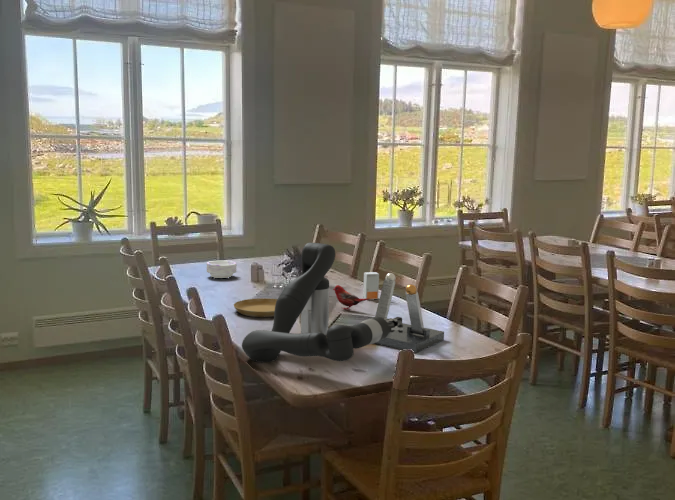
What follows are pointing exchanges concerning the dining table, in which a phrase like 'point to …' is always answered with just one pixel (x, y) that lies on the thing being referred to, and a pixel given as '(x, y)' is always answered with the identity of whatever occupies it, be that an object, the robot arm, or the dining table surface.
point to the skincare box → (370, 285)
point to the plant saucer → (256, 307)
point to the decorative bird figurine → (346, 297)
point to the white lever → (386, 296)
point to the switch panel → (412, 339)
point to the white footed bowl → (221, 268)
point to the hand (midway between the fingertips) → (400, 320)
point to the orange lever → (414, 310)
